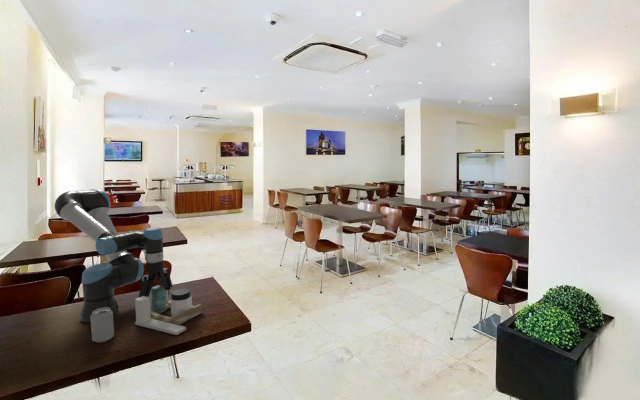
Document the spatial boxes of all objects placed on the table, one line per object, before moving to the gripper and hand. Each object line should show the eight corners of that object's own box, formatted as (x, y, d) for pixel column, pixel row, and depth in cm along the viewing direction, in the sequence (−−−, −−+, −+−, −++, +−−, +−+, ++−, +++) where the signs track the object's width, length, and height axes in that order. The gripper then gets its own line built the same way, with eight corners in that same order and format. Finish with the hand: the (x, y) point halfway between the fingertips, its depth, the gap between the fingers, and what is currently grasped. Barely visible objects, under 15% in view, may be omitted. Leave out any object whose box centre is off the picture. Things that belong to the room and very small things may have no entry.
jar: (171, 322, 146) (170, 296, 145) (171, 315, 153) (170, 290, 152) (193, 318, 150) (192, 293, 149) (191, 311, 157) (190, 287, 156)
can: (97, 345, 127) (95, 315, 126) (88, 340, 131) (86, 311, 130) (118, 337, 134) (116, 308, 132) (108, 332, 138) (106, 304, 136)
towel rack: (142, 317, 151) (141, 291, 149) (168, 305, 164) (167, 281, 163) (178, 325, 142) (176, 299, 141) (202, 312, 155) (201, 287, 154)
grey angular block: (135, 324, 143) (133, 299, 142) (145, 319, 148) (144, 295, 147) (176, 335, 134) (175, 308, 133) (186, 329, 139) (184, 304, 138)
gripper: (139, 268, 143) (142, 317, 145) (179, 255, 163) (181, 299, 165) (127, 266, 146) (130, 315, 148) (168, 254, 166) (170, 297, 168)
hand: (157, 306), depth 157 cm, fingers open, 9 cm apart
